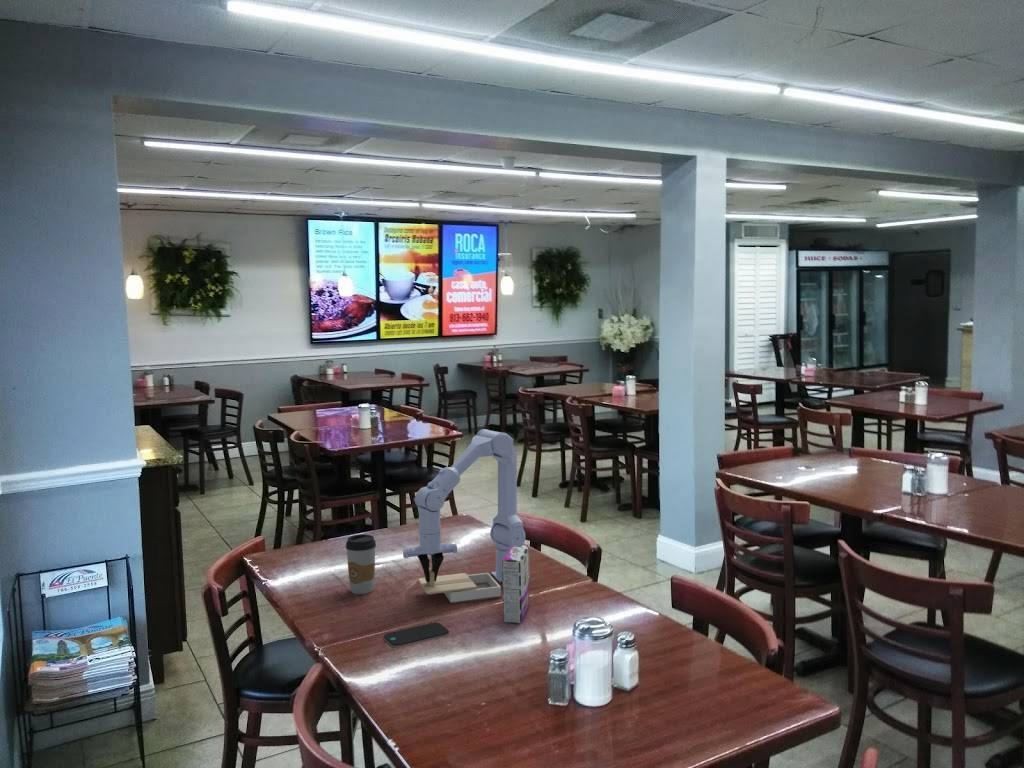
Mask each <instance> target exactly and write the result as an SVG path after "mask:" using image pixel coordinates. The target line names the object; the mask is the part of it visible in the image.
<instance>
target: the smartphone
mask: <svg viewBox="0 0 1024 768" xmlns="http://www.w3.org/2000/svg"><path fill="white" fill-rule="evenodd" d="M449 634H450V631H449V629H448V628H447V627H446V626H444V625H443V624H441V623H440V622H430V623H426V624H421V625H418V626H413V627H408V628H404V629H400V630H395V631H391V632H387V633H385V634H384V635H383V639H384V641H386V643H388V645H390V646H391V647H394V648H401V647H405V646H409V645H413V644H418V643H421V642H425V641H429V640H433V639H437V638H442V637H446V636H448V635H449Z"/></svg>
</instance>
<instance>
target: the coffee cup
mask: <svg viewBox="0 0 1024 768" xmlns="http://www.w3.org/2000/svg"><path fill="white" fill-rule="evenodd" d="M376 543H377V542H376V539H375V537H374V535H371V534H356V535H351V536H349V537H347V541H346V542H345V549H346V556H347V570H348V579H349V589H350V591H351V593H352V594H354V595H366V594H369V593H371V592H373V589H374V586H375V573H376V572H375V571H376V570H375V568H376V546H377V544H376Z"/></svg>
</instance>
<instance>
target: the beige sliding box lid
mask: <svg viewBox="0 0 1024 768" xmlns="http://www.w3.org/2000/svg"><path fill="white" fill-rule="evenodd" d="M468 575H469V574H467V573H466V572H462V573H454V574H453V573H452V574H445V575H437V579H436V581H435V582H434V571H433V570H432V568H429V577H430V582H426V580H425V577H420V578H417V579H418V583H420V586H421V587H422V589H423V590H424V592H425V594H426V595H435V594H444V592H452V591H460V590H468V589H476V588H477V586H476V585H475V584H474V583H473V581H472V580H471V578H469V576H468Z"/></svg>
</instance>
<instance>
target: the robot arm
mask: <svg viewBox="0 0 1024 768" xmlns="http://www.w3.org/2000/svg"><path fill="white" fill-rule="evenodd" d="M482 457H483V458H485V457H492V458H493V459H495V460H496V461H497V514H496V515H495V517H493V519H492V525H491V529H490V532H489V533H490V535H489V536H490V538H491V540H492V541H493V542H494V543H493V544H494V546H495V571H491V576H492V575H493V577H494V579H496V581H498V582H499V583H501V582H502V583H503V575H502V560H503V558H504V557H505V555H506V554H507V552H508V551H509V549H510V547H527V545H524V543H525V542H526V541H525V540H526V531H525V529H524V522H523V521H522V520H521V518H520V517H519V516H518V511H517V510H518V509H517V507H518V505H517V503H518V498H517V497H518V496H517V493H518V492H517V491H518V489H517V488H518V487H517V485H518V484H517V483H518V478H517V477H518V475H517V474H518V472H517V471H518V469H517V468H518V465H517V463H518V460H517V459H518V456H517V452H516V449H515V447H514V438H513V437H511V435H509V434H508V433H506V432H500V431H495V430H489V429H486V428H483V429H480V430H479V431H477V433H476V435H474V436H473V437H472V439H471V442H470V444H469V445H468V446H467V448H466V449H465V450H464V451H463V452H462V454H461V455H460V456H459V457H458V458H457V459H456V461H455V462H454V463H453V464H452V465H451V466H449V467H448V466H445V467H443V468H440V469H439V471H438V473H437V475H436V476H435V477H434V478H433V479H432V480H431V481H429V482H428V483H427V486H423V487H420V489H419V490H418V491H417V492H416V495H415V497H414V498H413V501H414V503H415V505H416V506H417V510H418V511H417V512H418V525H419V526H418V527H419V529H418V530H419V531H418V532H419V533H418V534H419V536H418V538H419V540H418V541H419V545H418V546H413V547H411V548H410V547H409V548H404V549H402V556H403V559H409V558H414V557H417V558H418V560H419V563H420V565H421V567H422V570H423V571H422V572H423V574H424V578H425V580H426V582H430V577H429V569H430V563H431V569H432V570H433V571H434V582H435V581H436V579H437V576H438V574H439V571H440V568H441V565H442V563H443V561H444V559H445V557H444V554H450V553H453V554H457V553H458V546H457V544H456V543H453V544H448V543H447V544H446V543H445V544H443V543H442V542H441V541H442V540H441V538H442V537H441V536H442V535H441V509H442V508H443V507H444V505H445V500H446V498H447V496H448V495H449V494H450V493H451V492H452V491H453V490H454V489H455V488H456V487H457V486H458V484H460V482H461V475H462V474H463V473H465V472H466V471H467V470H468V469H469V468H470V467H471V466H472V465H473V464H474V463H475V462H476V461H478V460H479V459H480V458H482ZM429 556H431V557H430V558H431V561H430V559H429ZM528 568H529V569H530V554H529V552H528ZM530 578H531V576H530V575H529V579H530Z"/></svg>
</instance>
